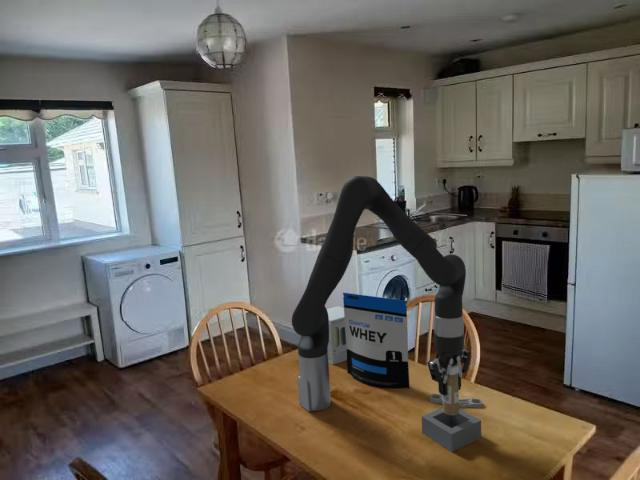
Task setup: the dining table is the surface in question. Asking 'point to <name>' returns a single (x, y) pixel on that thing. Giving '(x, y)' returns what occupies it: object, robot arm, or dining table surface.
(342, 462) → the dining table surface
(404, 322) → the protein powder
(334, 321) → the supplement box
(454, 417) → the well
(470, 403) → the bracket
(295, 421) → the dining table surface
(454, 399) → the sprinkles bottle
